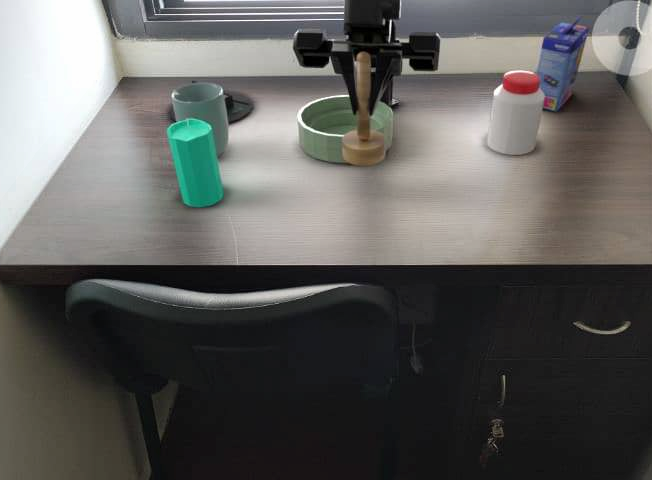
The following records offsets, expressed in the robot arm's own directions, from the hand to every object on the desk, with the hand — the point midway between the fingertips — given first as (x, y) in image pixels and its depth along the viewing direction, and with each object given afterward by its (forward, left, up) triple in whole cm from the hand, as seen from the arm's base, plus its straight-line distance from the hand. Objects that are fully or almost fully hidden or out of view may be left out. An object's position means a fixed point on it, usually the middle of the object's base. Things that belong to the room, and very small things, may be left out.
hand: (362, 114), depth 78 cm
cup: (+8, -28, -13) cm, 32 cm away
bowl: (-10, -14, -13) cm, 22 cm away
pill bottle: (-29, +5, -13) cm, 32 cm away
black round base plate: (-1, -42, -13) cm, 44 cm away
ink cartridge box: (-48, 0, -13) cm, 50 cm away
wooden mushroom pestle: (-1, -1, -7) cm, 7 cm away
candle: (+16, -17, -13) cm, 27 cm away
